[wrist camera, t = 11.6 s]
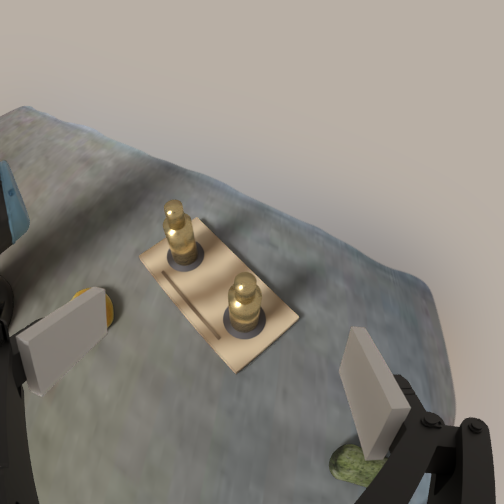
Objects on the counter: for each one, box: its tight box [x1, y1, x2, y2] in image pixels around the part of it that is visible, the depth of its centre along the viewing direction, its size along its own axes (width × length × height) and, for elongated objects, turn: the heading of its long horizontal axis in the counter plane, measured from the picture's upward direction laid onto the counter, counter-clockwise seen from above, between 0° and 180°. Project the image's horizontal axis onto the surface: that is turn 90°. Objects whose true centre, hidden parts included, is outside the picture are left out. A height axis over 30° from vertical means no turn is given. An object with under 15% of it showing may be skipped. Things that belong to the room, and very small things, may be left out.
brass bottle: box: [228, 272, 262, 333], centre depth 38 cm, size 4×4×12 cm
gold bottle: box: [163, 200, 198, 266], centre depth 43 cm, size 4×4×12 cm
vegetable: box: [329, 444, 388, 487], centre depth 30 cm, size 14×5×5 cm, turn 62°
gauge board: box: [139, 217, 299, 374], centre depth 46 cm, size 24×12×1 cm, turn 42°
